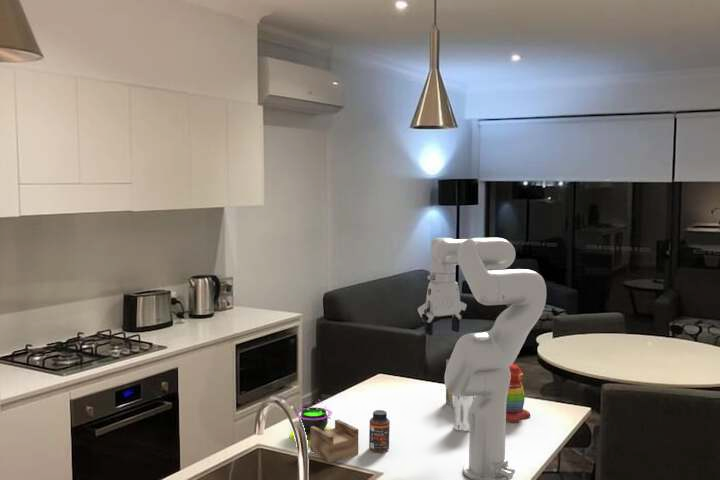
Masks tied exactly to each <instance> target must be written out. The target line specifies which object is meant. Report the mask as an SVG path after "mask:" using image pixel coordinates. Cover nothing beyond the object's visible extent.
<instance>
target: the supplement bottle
mask: <svg viewBox="0 0 720 480" xmlns="http://www.w3.org/2000/svg"><path fill="white" fill-rule="evenodd" d="M387 415H388V414H387V411H386V410H382V409H376V410H374V411H373V412H372V418H370V419H369V430H368V431H369V437H368V438H369V442H368V443H369V445H368V446H369V447H368V448H369V450H370V451H371V452H373V453H377V454H378V453H379V454H381V453H386V452H387V451H389V450H390V428H391V427H390V425H391V424H390V423H391V422H390V419H389V418H388V417H387Z"/></svg>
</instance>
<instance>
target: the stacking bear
mask: <svg viewBox="0 0 720 480" xmlns="http://www.w3.org/2000/svg"><path fill="white" fill-rule="evenodd" d="M509 369H510V373H511V379H510V385H509V389H508V394H507V402H506V423H507V422H508V423H512V424H516V423H518V422H519V421H520V420H523V419H528V418H531V413H530V411H528V410H526V409H525V408H524V404H525V399H526V396H525V391H524V386H523V383H522V379H523V377H524V372H523V371H522V369H521V367H520V366H518V365H517V364H516V362H513V363H512V364H511V365H510V366H509Z"/></svg>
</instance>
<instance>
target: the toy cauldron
mask: <svg viewBox="0 0 720 480" xmlns="http://www.w3.org/2000/svg"><path fill="white" fill-rule="evenodd" d="M307 400H308V401H307ZM307 400H306V403H304V405H306V404H310V399H307ZM319 403H322V402H321V399H319V401H318V402H317V401H316V404H319ZM300 407H301V409H299V410H297V412H298V416H299V419H300V418H301V420H302V423H303V425H304V428H305V432H306V435H307V440H308V444H309V445H310V427H311V426H315V427H317V428H319V429H321V430H323V431H326V430H330V429H333V428H331V427H329V426H327V425H328V421H329V419H331V416H332V415H333V411H331V410H329V409H328V408H326V407H309V405H307V408H303V404H302V405H301V406H300ZM300 412H301V413H300ZM293 431H294V430H293ZM293 431H291V432H290V434H289V438H290V439H291V441H293V442H295V439H294V435H293Z"/></svg>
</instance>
